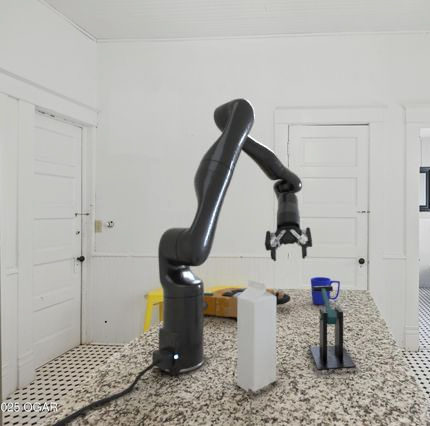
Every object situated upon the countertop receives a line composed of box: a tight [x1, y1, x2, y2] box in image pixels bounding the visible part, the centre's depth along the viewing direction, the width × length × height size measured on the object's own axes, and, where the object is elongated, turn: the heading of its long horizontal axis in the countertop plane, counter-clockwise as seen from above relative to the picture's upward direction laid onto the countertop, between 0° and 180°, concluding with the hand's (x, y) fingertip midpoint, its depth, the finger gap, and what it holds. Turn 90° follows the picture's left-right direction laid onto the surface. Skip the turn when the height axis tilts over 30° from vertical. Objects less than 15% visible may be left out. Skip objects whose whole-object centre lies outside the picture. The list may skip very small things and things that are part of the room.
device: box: [204, 287, 291, 319], centre depth 117 cm, size 23×8×30 cm
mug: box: [310, 276, 341, 306], centre depth 128 cm, size 8×12×10 cm
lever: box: [313, 285, 337, 326], centre depth 82 cm, size 13×6×2 cm, turn 9°
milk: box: [236, 279, 277, 393], centre depth 66 cm, size 6×6×22 cm
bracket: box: [309, 306, 357, 371], centre depth 77 cm, size 12×9×13 cm
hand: (289, 258), depth 90 cm, fingers open, 8 cm apart
